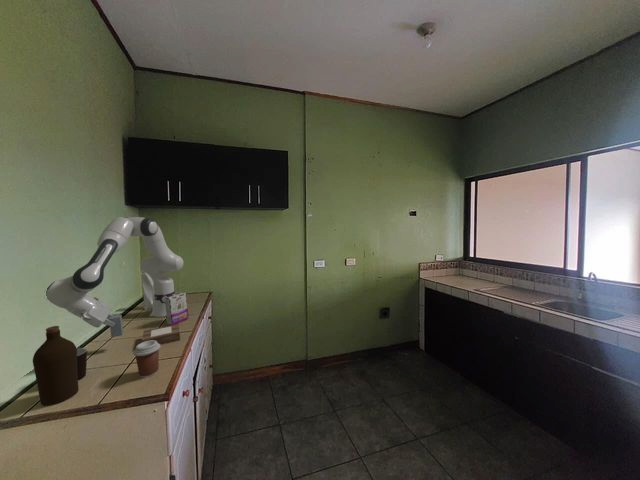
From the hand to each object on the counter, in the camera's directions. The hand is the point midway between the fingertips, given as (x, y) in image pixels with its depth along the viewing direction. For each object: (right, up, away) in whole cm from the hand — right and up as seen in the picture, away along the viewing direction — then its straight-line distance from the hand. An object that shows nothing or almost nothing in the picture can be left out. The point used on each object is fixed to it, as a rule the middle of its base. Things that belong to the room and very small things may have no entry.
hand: (115, 323), depth 122 cm
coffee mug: (0, -15, -21) cm, 26 cm away
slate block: (+1, -6, +1) cm, 6 cm away
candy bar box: (+11, -10, +34) cm, 37 cm away
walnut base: (+16, -12, +10) cm, 22 cm away
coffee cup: (+30, -14, -20) cm, 38 cm away
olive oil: (+7, -15, -33) cm, 37 cm away
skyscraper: (-24, -10, +62) cm, 67 cm away
